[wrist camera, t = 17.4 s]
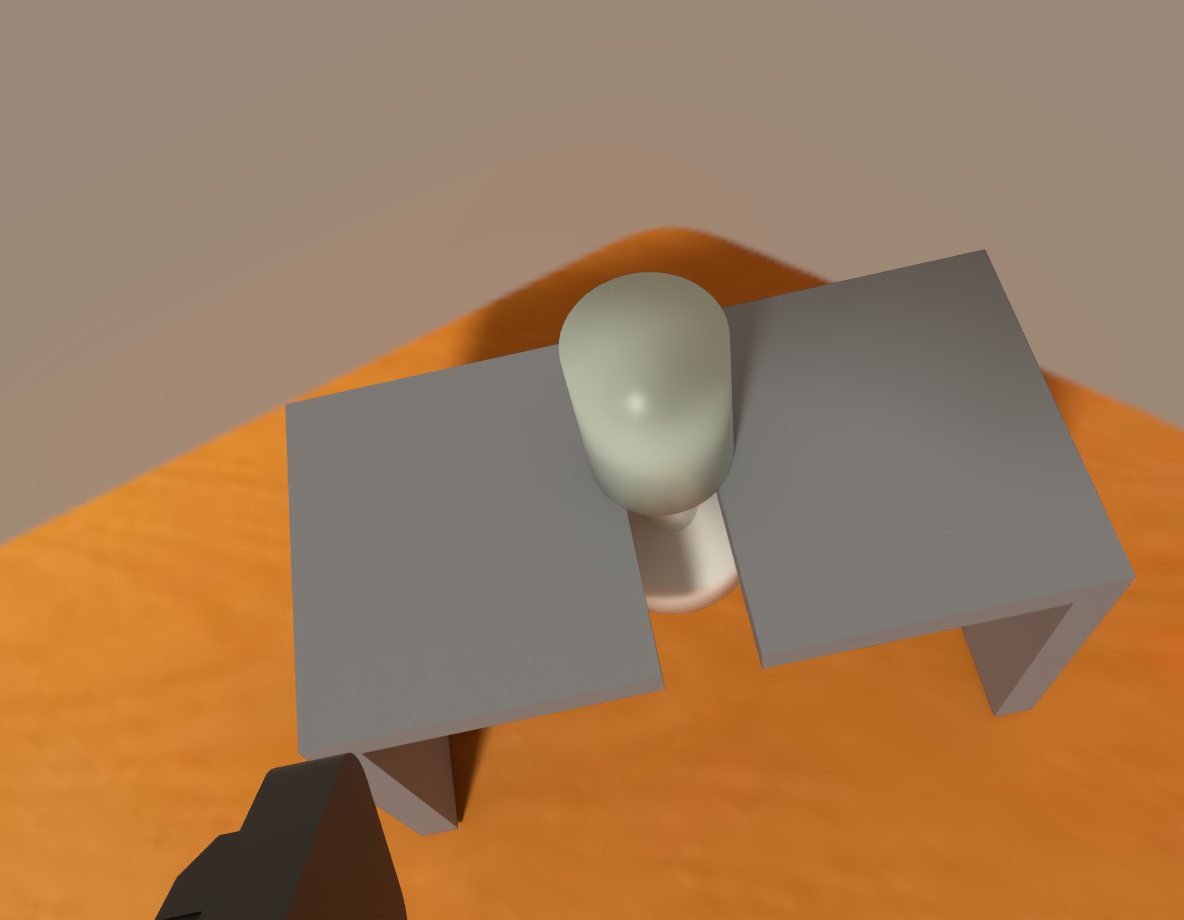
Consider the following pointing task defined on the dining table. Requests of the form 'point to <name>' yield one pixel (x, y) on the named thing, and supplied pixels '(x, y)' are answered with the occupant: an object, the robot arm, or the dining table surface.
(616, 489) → the wine glass
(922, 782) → the dining table surface
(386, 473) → the slotted rack
